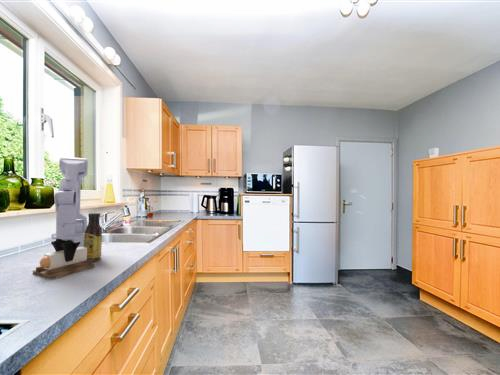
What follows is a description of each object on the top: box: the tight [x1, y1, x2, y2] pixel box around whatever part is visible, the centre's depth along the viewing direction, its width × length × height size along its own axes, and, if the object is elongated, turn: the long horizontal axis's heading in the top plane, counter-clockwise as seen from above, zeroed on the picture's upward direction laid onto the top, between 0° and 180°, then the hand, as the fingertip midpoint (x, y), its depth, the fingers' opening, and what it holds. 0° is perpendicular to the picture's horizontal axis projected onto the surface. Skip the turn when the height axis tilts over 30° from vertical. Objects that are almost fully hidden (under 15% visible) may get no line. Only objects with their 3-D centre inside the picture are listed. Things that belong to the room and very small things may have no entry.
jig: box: [32, 259, 96, 280], centre depth 87 cm, size 14×12×2 cm
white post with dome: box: [39, 247, 87, 270], centre depth 86 cm, size 14×4×5 cm, turn 156°
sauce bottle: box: [84, 212, 103, 263], centre depth 99 cm, size 6×6×20 cm
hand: (65, 260), depth 87 cm, fingers closed on white post with dome, 4 cm apart
